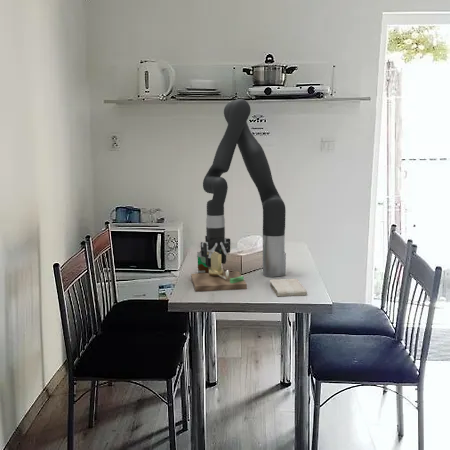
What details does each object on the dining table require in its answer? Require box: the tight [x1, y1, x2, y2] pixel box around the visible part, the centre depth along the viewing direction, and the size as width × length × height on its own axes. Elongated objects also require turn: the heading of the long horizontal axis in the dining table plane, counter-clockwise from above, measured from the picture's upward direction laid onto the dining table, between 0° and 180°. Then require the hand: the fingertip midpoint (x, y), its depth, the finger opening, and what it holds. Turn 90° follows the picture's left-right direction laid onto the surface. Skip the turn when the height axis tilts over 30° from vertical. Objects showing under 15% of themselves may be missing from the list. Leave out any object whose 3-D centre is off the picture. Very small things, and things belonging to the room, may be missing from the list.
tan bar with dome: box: [209, 251, 230, 281], centre depth 247 cm, size 15×6×9 cm, turn 26°
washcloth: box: [269, 278, 308, 297], centre depth 237 cm, size 12×18×3 cm, turn 7°
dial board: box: [190, 271, 248, 292], centre depth 246 cm, size 20×19×4 cm
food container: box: [196, 249, 211, 274], centre depth 263 cm, size 12×6×10 cm, turn 168°
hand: (216, 265), depth 251 cm, fingers open, 7 cm apart
